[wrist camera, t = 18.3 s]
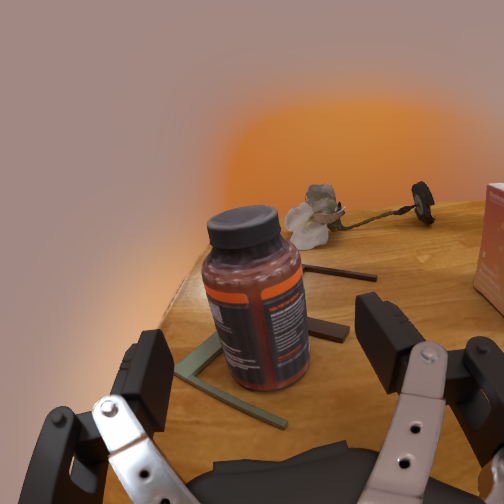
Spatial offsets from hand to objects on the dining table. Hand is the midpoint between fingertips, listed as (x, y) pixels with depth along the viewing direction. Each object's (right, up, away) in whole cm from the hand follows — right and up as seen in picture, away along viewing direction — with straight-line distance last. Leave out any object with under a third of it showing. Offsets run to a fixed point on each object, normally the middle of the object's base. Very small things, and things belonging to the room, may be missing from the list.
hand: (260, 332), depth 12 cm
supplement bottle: (+1, -5, +9) cm, 11 cm away
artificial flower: (+16, +6, +28) cm, 33 cm away
